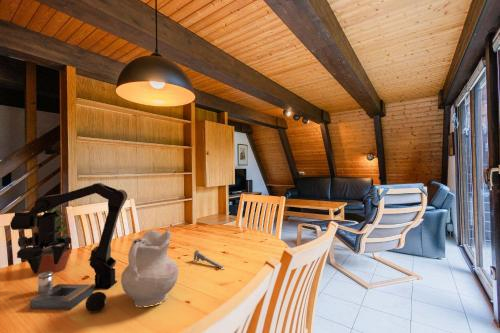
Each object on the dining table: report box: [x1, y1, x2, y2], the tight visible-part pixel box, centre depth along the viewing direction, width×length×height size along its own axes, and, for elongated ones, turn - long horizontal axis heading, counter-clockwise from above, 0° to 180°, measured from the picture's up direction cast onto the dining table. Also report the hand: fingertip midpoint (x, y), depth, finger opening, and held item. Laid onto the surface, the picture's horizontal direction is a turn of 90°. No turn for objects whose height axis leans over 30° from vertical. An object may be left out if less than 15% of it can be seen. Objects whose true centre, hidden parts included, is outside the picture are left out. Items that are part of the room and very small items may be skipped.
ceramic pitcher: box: [120, 229, 179, 308], centre depth 90 cm, size 22×20×25 cm
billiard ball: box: [85, 291, 108, 313], centre depth 83 cm, size 6×6×6 cm
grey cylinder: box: [37, 271, 54, 295], centre depth 96 cm, size 4×4×7 cm
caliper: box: [193, 249, 224, 269], centre depth 124 cm, size 20×1×6 cm, turn 57°
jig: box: [29, 283, 95, 311], centre depth 90 cm, size 14×12×3 cm
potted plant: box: [37, 206, 72, 274], centre depth 117 cm, size 15×15×30 cm
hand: (46, 268), depth 96 cm, fingers open, 9 cm apart
